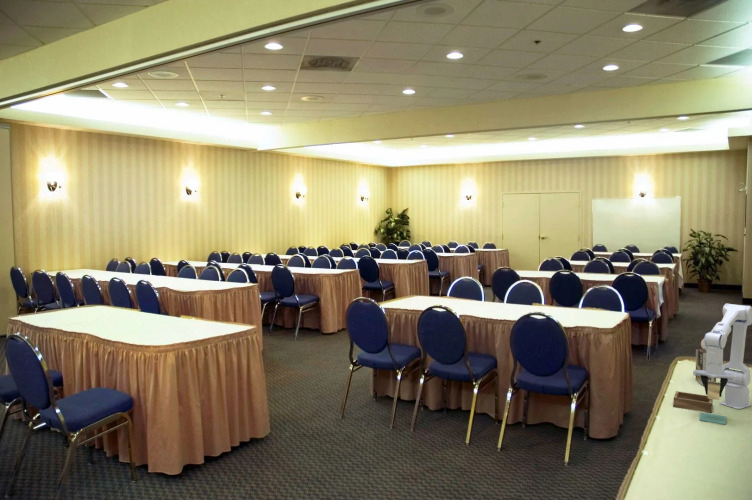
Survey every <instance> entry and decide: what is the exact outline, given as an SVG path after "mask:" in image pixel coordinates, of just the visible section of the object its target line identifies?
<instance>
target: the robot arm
mask: <svg viewBox="0 0 752 500" xmlns="http://www.w3.org/2000/svg"><path fill="white" fill-rule="evenodd" d="M722 315H723V317H722V319H721V321H718V322H717V323H716V324H715V325H714V326H713V328H712V329H711V330H710V331H709V332H706V333H705V335H704V337H703V338H704V344H705V350H706V370H696V369H693V371H692V373H693V374H692V376H695V377H696V375H697V376H701V378H700V379H701V381H702V383H703V385H704V386H703V387H704V392H705V396H708V377H712V378H716V379H719V383H720V393H719V398H721V397H722V396H723V391H724V401H721V402H719V404H720V405H722V406H726V407H729V408H733V409H735V410H741V409H744V408H748V407H750V406H752V404H751V403H750V388H749V385H750V383H751V370H750V368H749V367H748V366H747V365H745V363H744V358H745V357H744V355H745V346H746V337H747V329H748V326H751V325H752V306H751V305H742V304H733V303H732V304H731V303H729V302H728V303H725V304H724V305H723V307H722ZM732 326H733V327H732ZM731 331H732V334H731V335H732V336H731V337H732V338H731V347H730V355H729V361H728V362H727V363H726V362H725V363H724V349H725V347H726V344H727V341H728V336H729V334H730V333H731Z"/></svg>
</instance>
